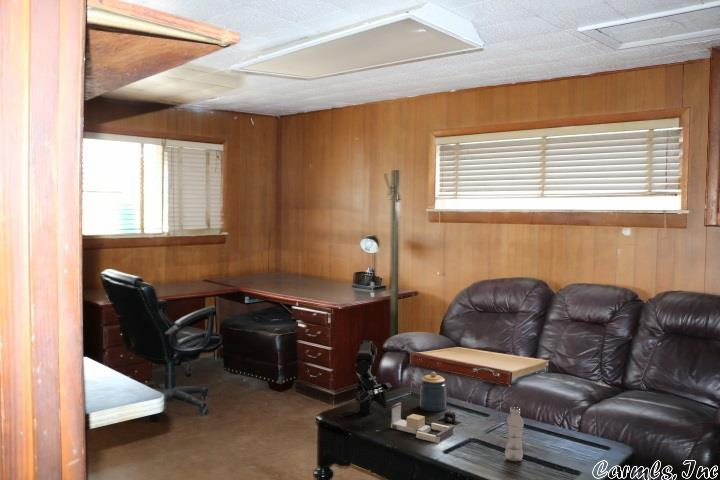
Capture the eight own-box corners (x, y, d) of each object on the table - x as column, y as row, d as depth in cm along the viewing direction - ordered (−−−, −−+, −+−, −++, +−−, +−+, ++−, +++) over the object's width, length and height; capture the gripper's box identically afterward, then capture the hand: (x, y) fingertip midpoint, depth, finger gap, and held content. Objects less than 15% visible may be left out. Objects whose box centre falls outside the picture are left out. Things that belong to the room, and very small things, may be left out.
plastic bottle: (502, 456, 233) (503, 406, 232) (519, 456, 233) (520, 405, 233) (508, 463, 226) (509, 411, 226) (525, 463, 227) (526, 411, 226)
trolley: (389, 428, 263) (390, 406, 263) (400, 423, 270) (400, 401, 270) (421, 436, 254) (422, 413, 254) (431, 430, 261) (431, 408, 261)
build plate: (465, 423, 272) (465, 413, 272) (457, 427, 266) (457, 417, 266) (442, 417, 280) (442, 408, 280) (433, 421, 274) (433, 411, 274)
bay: (416, 437, 252) (416, 430, 252) (432, 428, 264) (432, 420, 264) (438, 443, 246) (438, 435, 246) (454, 433, 258) (454, 425, 258)
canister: (415, 404, 298) (416, 369, 297) (440, 402, 301) (440, 368, 300) (424, 412, 285) (425, 376, 285) (450, 411, 288) (450, 374, 288)
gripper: (368, 383, 286) (386, 411, 280) (344, 392, 271) (362, 422, 265) (382, 370, 280) (401, 399, 274) (358, 379, 266) (377, 409, 260)
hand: (385, 408), depth 268 cm, fingers closed
